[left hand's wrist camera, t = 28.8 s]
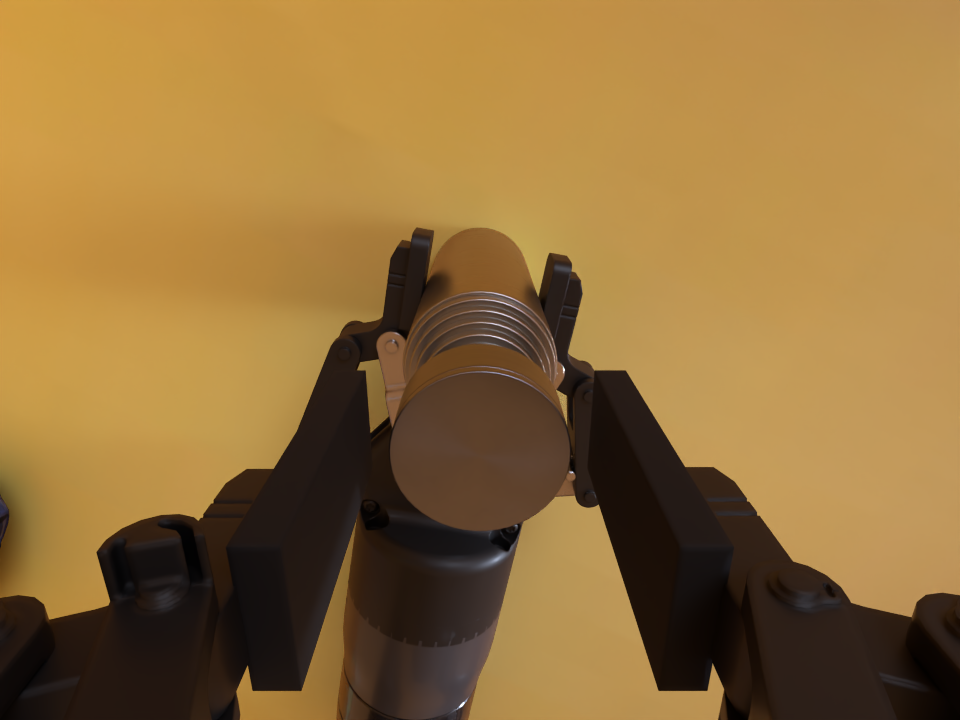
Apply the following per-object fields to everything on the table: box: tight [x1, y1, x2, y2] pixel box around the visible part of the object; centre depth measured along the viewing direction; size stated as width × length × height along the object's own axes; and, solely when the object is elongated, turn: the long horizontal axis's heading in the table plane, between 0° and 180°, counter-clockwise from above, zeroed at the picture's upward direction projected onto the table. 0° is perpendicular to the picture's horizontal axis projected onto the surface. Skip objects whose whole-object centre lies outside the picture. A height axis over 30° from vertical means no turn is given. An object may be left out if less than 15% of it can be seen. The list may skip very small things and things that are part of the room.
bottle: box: [403, 228, 557, 386], centre depth 22 cm, size 5×5×17 cm
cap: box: [389, 344, 571, 531], centre depth 14 cm, size 4×4×2 cm
